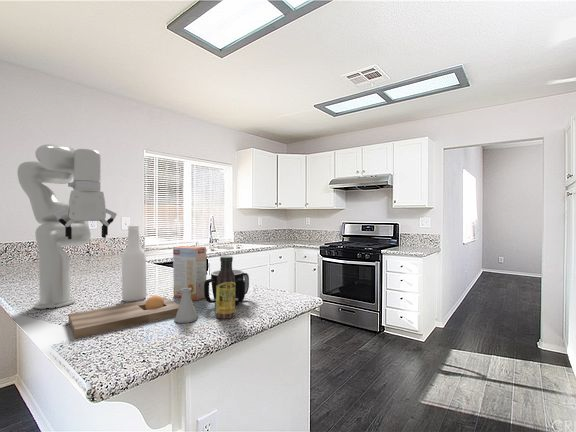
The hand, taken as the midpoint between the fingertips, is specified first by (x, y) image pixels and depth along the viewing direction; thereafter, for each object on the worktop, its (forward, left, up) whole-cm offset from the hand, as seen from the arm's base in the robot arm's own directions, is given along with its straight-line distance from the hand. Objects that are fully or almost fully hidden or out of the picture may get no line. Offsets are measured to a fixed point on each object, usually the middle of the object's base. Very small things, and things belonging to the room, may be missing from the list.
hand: (87, 238), depth 102 cm
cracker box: (-1, +36, -27) cm, 45 cm away
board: (+10, +10, -27) cm, 30 cm away
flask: (+25, +24, -27) cm, 43 cm away
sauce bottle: (+31, +35, -27) cm, 53 cm away
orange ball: (+10, +18, -24) cm, 32 cm away
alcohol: (-14, +18, -27) cm, 35 cm away
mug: (+18, +43, -27) cm, 53 cm away
